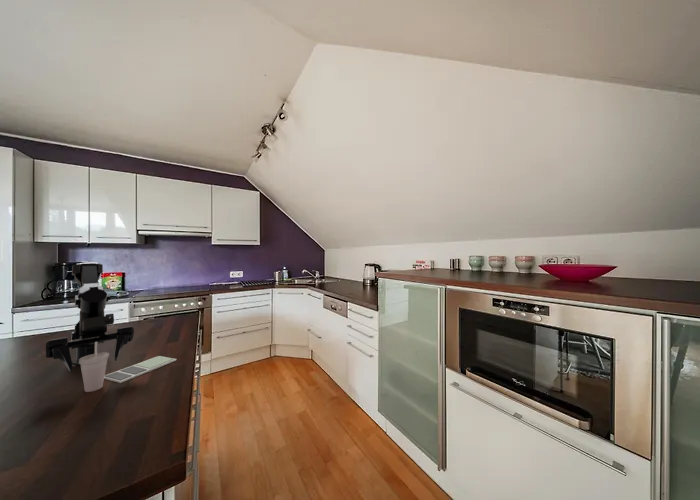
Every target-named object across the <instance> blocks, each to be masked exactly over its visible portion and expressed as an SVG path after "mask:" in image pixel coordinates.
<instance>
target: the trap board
mask: <svg viewBox="0 0 700 500" xmlns="http://www.w3.org/2000/svg"><path fill="white" fill-rule="evenodd" d="M176 361H177V358H172V357H167V356H162V355H158V356H154V357H151V358H149V359H146V360H144V361H142V362H138V363H136V364H132V365H131V366H127V367H124V368H122V369H119V370H116V371H113V372H111V373H108V374H105V376H104V380H106V381H110V382H115V383H118V384H123V383H124V382H127V381H129V380H132V379H134V378H137V377H140V376H141V375H145V374H147V373H149V372H152V371H154V370H156V369H159V368H162V367H164V366H167V365H169V364H172V363H174V362H176Z"/></svg>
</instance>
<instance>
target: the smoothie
mask: <svg viewBox="0 0 700 500" xmlns="http://www.w3.org/2000/svg"><path fill="white" fill-rule="evenodd" d="M109 357H110V353H109V352H108V351H107V352H106V351H104V352H103V351H102V352H98V353H97V342H95V354H91V355H87V356H84V357H82V358H80V359H79V364H81V365H80V369H81V374H82V376H81V377H82V381H83V388H84V392H85V393H90V392H95V391H97V390H100V389H102V388H103V387H104V386H103V385H104V381H105V379H104V376H105V375H106V371H107V365H108V358H109Z"/></svg>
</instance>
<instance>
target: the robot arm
mask: <svg viewBox="0 0 700 500" xmlns="http://www.w3.org/2000/svg"><path fill="white" fill-rule="evenodd" d="M103 266H104V265H103V264H101V263H99V262H96V261H91V262H89V261H88V262H80V263H76V264H73V265H72V266H71V267H72V268H71V275H72V276H74V282H76V284H77V285H79V286H80V287H79V288H78V289H77V295H75V296H74V307H77V308H78V309H79V320H78V322H76V324H75V326H74V331H72V332H71V340H68V337H67V336H64V337H59V338H53V339H52V338H51V339H48V340H47V341H46V342H45V358H46V359H47V358H48V359H53V360H57V359H58V360H60V361H61V362H62V363H63V364H64V365H65V366H66V367H65V368H67V369H68V371H69V372H73V364H75V365H78V366H81V364H79V359H80V358H82V357H84V356H87V355H91V354H95V342H97V353H99V344H103V343H105V342H108V341H109V342H110V341H113V340H115V347H114V361H117V360H118V357H119V354H120V352H121V350H122V348H123V346H124V345H127V344H128V343H129V342H131V341H133V338H134V335H135V330H134V329H135V328H134V327H133V326H132V325H130V326H124V327H118V328H117V330H116V332H114V333H107V332H108V326H110V325H114V323H115V316H114V313H108V314H107V313H106V314H105V309H106V306H107V305H106V304H107V303H108V302H109V300H111V295H109V294H108V293H107V291H105V288H104V286H102V285H100V284H99V280H100V277H101V275H102V274H103V273H104V270H103ZM70 349H71V350H73V349H76V355H75V356H76V359H75V360H72V357H71V352H70V351H71V350H70Z"/></svg>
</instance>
